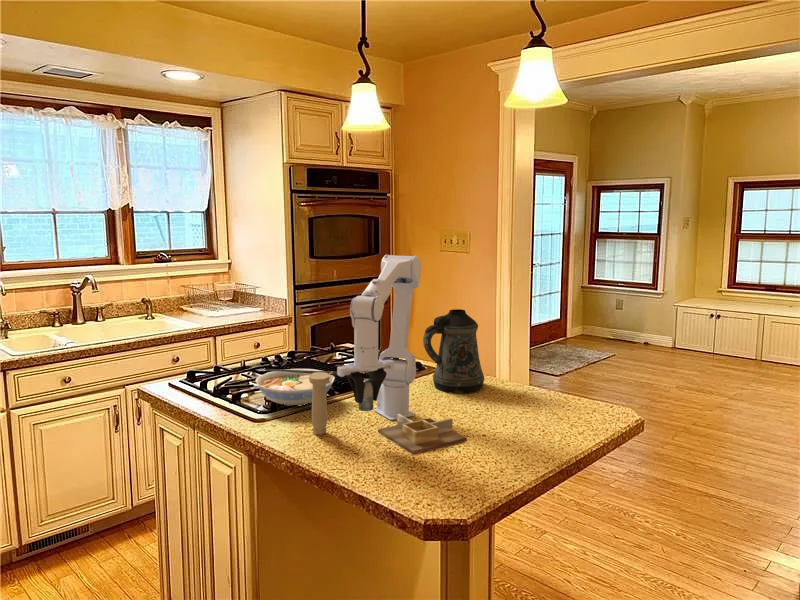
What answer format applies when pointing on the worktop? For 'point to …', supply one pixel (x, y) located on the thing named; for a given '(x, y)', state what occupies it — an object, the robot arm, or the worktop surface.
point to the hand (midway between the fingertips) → (366, 401)
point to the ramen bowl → (290, 385)
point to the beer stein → (455, 353)
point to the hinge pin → (367, 395)
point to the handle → (319, 401)
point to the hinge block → (422, 434)
